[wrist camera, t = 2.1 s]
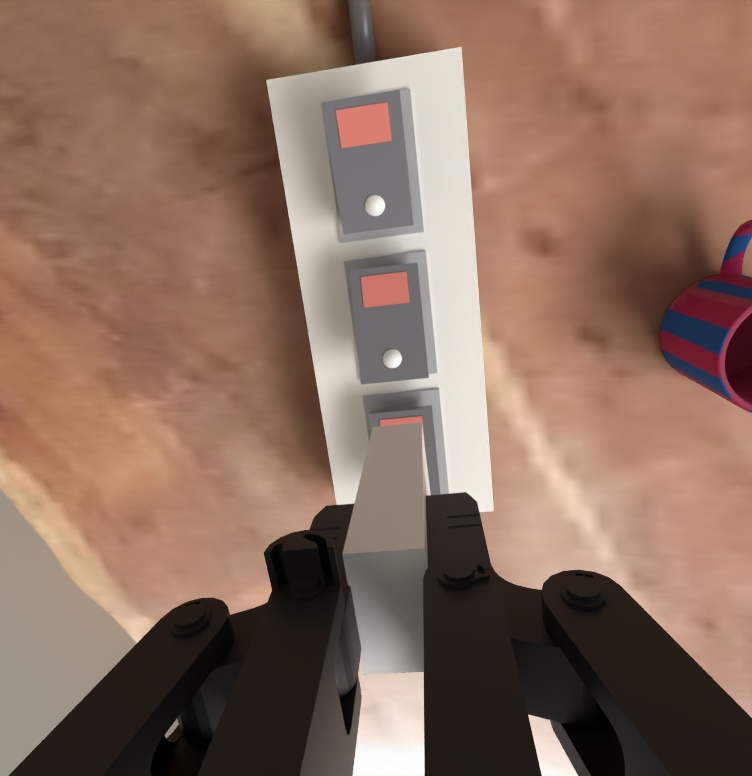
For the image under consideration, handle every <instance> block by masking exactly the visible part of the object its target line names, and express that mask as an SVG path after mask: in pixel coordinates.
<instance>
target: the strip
mask: <svg viewBox="0 0 752 776" xmlns="http://www.w3.org/2000/svg"><path fill="white" fill-rule="evenodd" d="M348 8H349V16H350V25H351V33H352V41H353V49H354V57H355V65H352V66H346V67H340V68H334V69H328V70H323V71H317V72H311V73H305V74H299V75H293V76H287V77H281V78H275V79H269V80H266V81H267V87H268V93H269V99H270V105H271V111H272V117H273V123H274V130H275V136H276V142H277V148H278V154H279V160H280V166H281V172H282V178H283V184H284V190H285V196H286V202H287V208H288V214H289V220H290V226H291V232H292V238H293V244H294V250H295V256H296V262H297V268H298V274H299V280H300V286H301V292H302V298H303V304H304V310H305V316H306V322H307V328H308V334H309V340H310V346H311V352H312V358H313V364H314V370H315V376H316V382H317V388H318V394H319V400H320V406H321V412H322V418H323V424H324V430H325V436H326V442H327V449H328V455H329V461H330V467H331V473H332V479H333V485H334V491H335V497H336V503H337V505H343V504H354V503H355V499H356V495H357V491H358V487H359V482H360V478H361V474H362V470H363V465H364V461H365V457H366V453H367V449H368V444H369V440H370V436H371V432H370V423H369V413H370V412H371V411H377V410H387V409H398V408H409V407H420V406H430V405H432V409H433V420H434V430H435V440H436V450H437V460H438V470H439V480H440V490H441V494H450V493H461V492H467V493H468V494H469V495H470V496H471V497H472V498H473V499H475V500H476V501H477V504H478V508H479V512H487V511H494V508H493V494H492V479H491V465H490V451H489V436H488V422H487V408H486V393H485V379H484V365H483V350H482V336H481V322H480V307H479V293H478V278H477V264H476V250H475V235H474V221H473V207H472V192H471V178H470V164H469V149H468V135H467V120H466V106H465V92H464V77H463V63H462V49H461V47H458V48H452V49H446V50H440V51H434V52H429V53H423V54H417V55H411V56H405V57H399V58H393V59H387V60H381V61H376V53H375V44H374V35H373V26H372V17H371V8H370V0H348ZM394 90H400V96H401V106H402V115H403V125H404V135H405V144H406V154H407V164H408V173H409V183H410V193H411V202H412V212H413V224H414V225H411V226H404V227H396V228H389V229H381V230H374V231H366V232H359V233H351V234H343V228H342V222H341V216H340V210H339V204H338V198H337V192H336V187H335V181H334V175H333V169H332V163H331V157H330V151H329V146H328V140H327V134H326V128H325V122H324V116H323V110H322V104H321V103H322V102H327V101H333V100H339V99H345V98H351V97H357V96H363V95H370V94H376V93H382V92H388V91H394ZM416 262H417V263H418V271H419V281H420V291H421V301H422V312H423V322H424V332H425V342H426V352H427V362H428V372H429V378H423V379H413V380H403V381H393V382H383V383H373V384H363V385H361V381H360V371H359V362H358V353H357V343H356V334H355V325H354V316H353V306H352V297H351V288H350V278H349V271H351V270H359V269H367V268H375V267H383V266H391V265H400V264H408V263H416Z"/></svg>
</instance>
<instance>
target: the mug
mask: <svg viewBox="0 0 752 776" xmlns="http://www.w3.org/2000/svg"><path fill="white" fill-rule="evenodd" d="M751 237H752V220H750V221H747V222H745V223H743V224H742V225H740V227H739V228H738V229H737V230H736V232H735V233H734V235H733V237H732V238H731V240H730V243H729V245H728V247H727V250H726V253H725V256H724V260H723V263H722V267H721V272H720V275H718V276H713V277H709V278H706V279H703V280H700V281H698V282H696V283H695V284H693V285H691V286H689V287H688V288H687V289H685V290H684V291H683V292H682V293H681V294H680V295H679V296H678V297H677V298H676V299H675V300H674V301H673V302H672V304H671V305H670V307H669V308H668V310H667V312H666V314H665V316H664V319H663V322H662V325H661V332H660V342H661V347H662V351H663V354H664V356H665V358H666V360H667V361H668V362H669V364H670V365H671V366H672V367H673V368H674V369H675V370H676V371H678V372H679V373H681V374H682V375H684V376H686V377H688V378H689V379H691V380H693V381H695V382H696V383H698V384H700V385H702V386H703V387H705V388H707V389H709V390H710V391H712V392H714V393H716V394H718V395H719V396H721V397H723V398H725V399H726V400H728V401H730V402H732V403H733V404H735V405H737V406H739V407H740V408H742V409H744V410H746V411H748V412H751V413H752V277H747V276H744V275H742V262H743V257H744V253H745V250H746V248H747V245H748V243H749V241H750V239H751Z"/></svg>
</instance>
